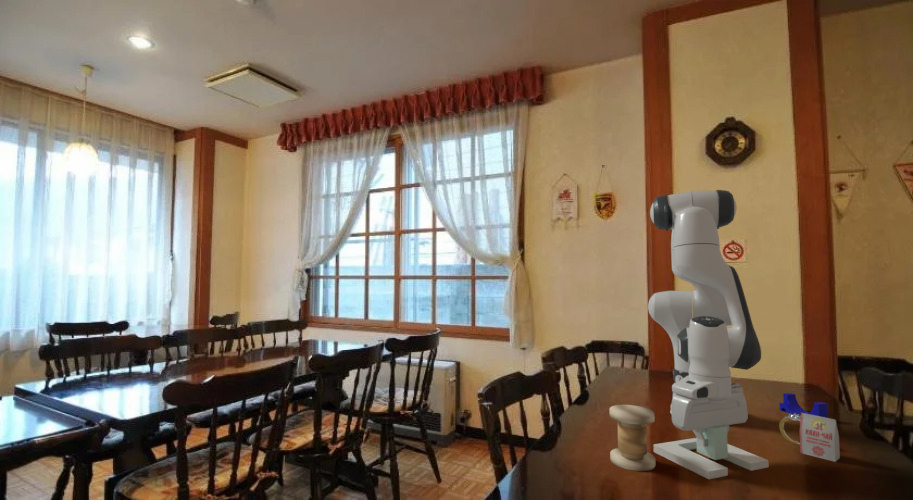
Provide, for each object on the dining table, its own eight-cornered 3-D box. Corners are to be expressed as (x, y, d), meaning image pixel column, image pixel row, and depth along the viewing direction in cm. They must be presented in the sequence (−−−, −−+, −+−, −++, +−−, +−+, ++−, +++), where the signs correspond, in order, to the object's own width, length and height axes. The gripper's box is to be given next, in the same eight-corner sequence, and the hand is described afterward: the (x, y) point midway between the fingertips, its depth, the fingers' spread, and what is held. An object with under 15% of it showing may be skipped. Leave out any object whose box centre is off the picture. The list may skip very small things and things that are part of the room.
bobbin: (634, 451, 111) (633, 403, 111) (665, 468, 101) (664, 415, 102) (601, 456, 108) (600, 406, 108) (629, 474, 98) (628, 419, 99)
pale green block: (709, 449, 107) (708, 420, 108) (727, 457, 103) (726, 427, 103) (696, 451, 106) (695, 422, 107) (714, 459, 101) (713, 429, 102)
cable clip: (779, 412, 143) (779, 393, 143) (791, 411, 144) (791, 393, 144) (815, 424, 131) (814, 404, 131) (828, 424, 132) (827, 403, 132)
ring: (815, 448, 113) (813, 416, 113) (808, 450, 111) (807, 418, 112) (784, 439, 119) (783, 409, 119) (778, 441, 117) (776, 411, 118)
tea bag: (805, 451, 111) (803, 411, 111) (839, 460, 105) (838, 418, 106) (800, 455, 109) (798, 414, 109) (835, 464, 103) (833, 421, 104)
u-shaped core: (708, 443, 116) (708, 435, 116) (768, 469, 101) (768, 460, 101) (653, 452, 110) (653, 444, 110) (708, 481, 95) (708, 471, 95)
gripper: (730, 379, 112) (732, 435, 111) (666, 385, 105) (667, 444, 104) (754, 385, 106) (756, 444, 105) (687, 392, 99) (689, 455, 98)
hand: (711, 444), depth 105 cm, fingers closed on pale green block, 4 cm apart
